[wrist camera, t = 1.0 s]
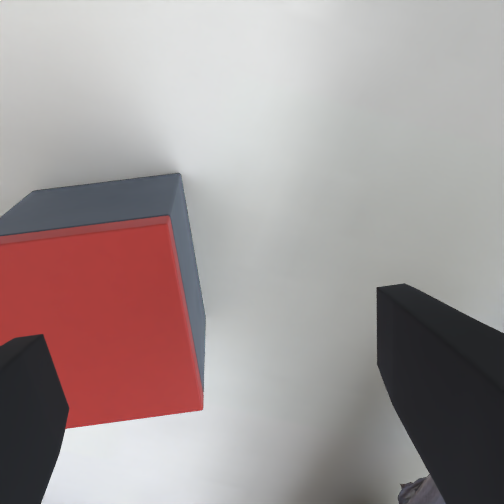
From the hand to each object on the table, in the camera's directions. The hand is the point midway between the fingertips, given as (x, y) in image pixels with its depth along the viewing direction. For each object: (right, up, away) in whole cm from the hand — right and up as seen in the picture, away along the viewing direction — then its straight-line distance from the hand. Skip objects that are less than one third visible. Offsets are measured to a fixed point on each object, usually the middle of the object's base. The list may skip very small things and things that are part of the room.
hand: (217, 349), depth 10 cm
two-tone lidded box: (-5, +2, +10) cm, 11 cm away
